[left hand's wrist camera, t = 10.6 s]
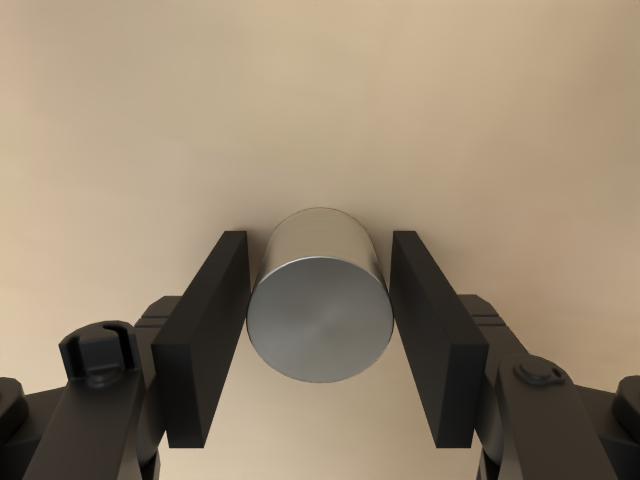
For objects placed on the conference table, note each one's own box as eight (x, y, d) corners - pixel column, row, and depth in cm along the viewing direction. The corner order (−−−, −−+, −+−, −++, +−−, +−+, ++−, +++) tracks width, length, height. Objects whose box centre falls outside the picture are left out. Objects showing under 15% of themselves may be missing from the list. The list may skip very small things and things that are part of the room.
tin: (352, 190, 14) (365, 233, 10) (388, 286, 15) (413, 357, 11) (247, 231, 14) (219, 287, 10) (292, 320, 16) (282, 400, 12)
